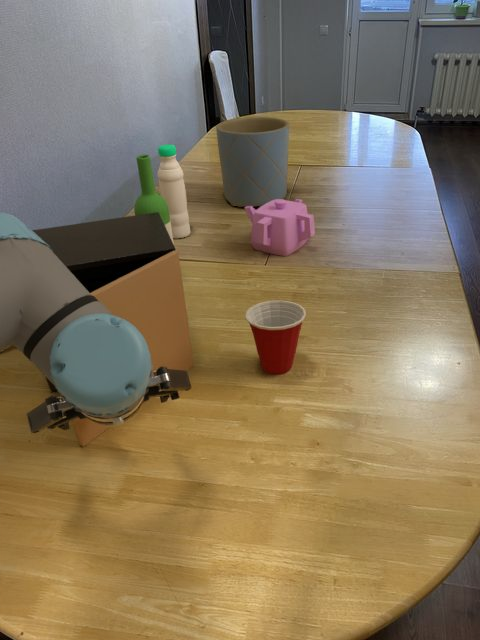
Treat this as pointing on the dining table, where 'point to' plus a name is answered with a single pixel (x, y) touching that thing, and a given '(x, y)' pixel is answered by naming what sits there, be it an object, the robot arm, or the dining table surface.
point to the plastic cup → (276, 333)
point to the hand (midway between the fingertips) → (114, 406)
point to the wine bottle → (150, 194)
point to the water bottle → (173, 191)
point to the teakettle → (280, 226)
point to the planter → (253, 159)
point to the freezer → (107, 248)
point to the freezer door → (148, 320)
